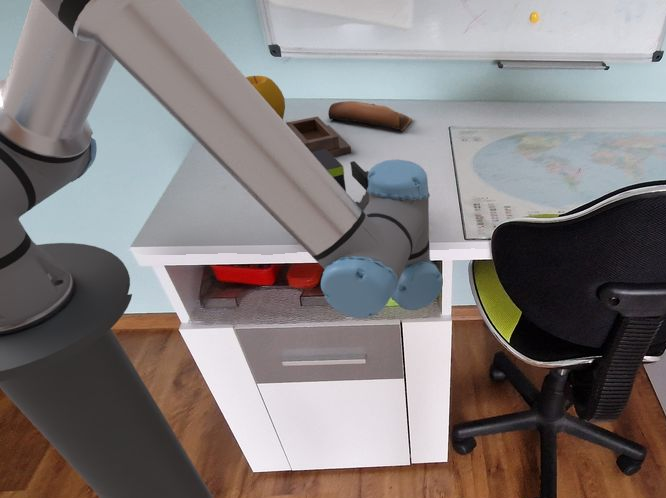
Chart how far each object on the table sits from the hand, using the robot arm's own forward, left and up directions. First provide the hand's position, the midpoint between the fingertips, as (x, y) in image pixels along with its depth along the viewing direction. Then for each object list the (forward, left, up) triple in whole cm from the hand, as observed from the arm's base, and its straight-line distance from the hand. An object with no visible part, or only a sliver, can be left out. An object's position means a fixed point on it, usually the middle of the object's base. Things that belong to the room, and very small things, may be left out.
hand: (320, 176), depth 95 cm
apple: (+16, +33, -6) cm, 37 cm away
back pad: (-2, -3, -6) cm, 7 cm away
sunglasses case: (+34, +18, -6) cm, 39 cm away
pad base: (+16, +19, -6) cm, 26 cm away
